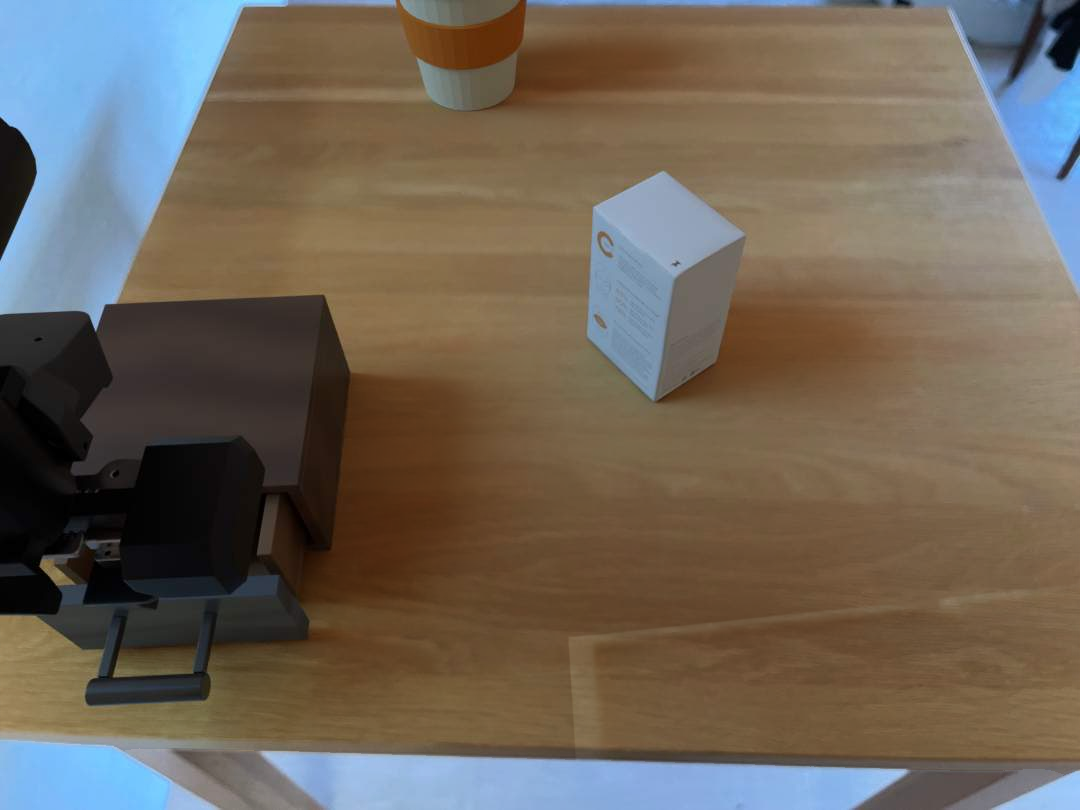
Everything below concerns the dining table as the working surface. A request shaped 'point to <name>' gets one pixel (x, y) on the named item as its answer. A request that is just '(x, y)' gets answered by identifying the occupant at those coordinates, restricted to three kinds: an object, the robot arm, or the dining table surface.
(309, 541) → the cabinet
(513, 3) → the reusable coffee cup
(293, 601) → the drawer
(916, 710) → the dining table surface
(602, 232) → the small box
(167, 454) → the robot arm
